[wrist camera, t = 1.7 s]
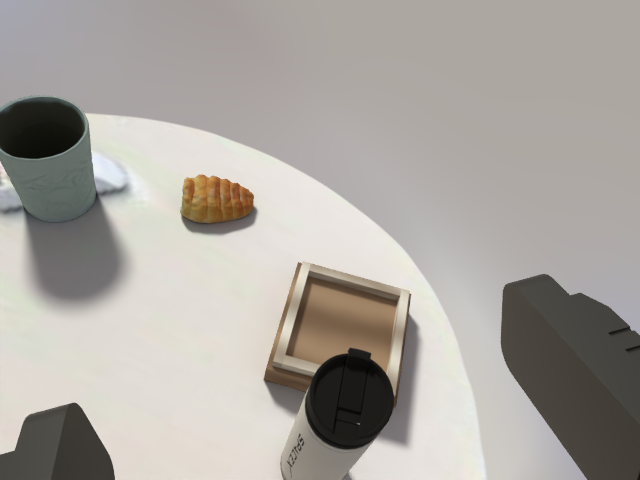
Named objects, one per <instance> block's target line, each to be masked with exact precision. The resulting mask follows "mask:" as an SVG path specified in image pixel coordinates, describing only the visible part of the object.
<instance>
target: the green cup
mask: <svg viewBox="0 0 640 480" xmlns="http://www.w3.org/2000/svg"><path fill="white" fill-rule="evenodd" d="M0 161H1V163H2V165H3V167H4V169H5V171H6V173H7V174H8V176H9V177H10V180H11V182H12V184H13V186H14V188H15V190H16V191H17V193H18V195H19V197H20V199H21V201H22V204H23V206H24V207H25V209H26V210H27V211H28V212H29V213H30V214H31V215H32V216H33V217H35V218H37V219H39V220H42V221H46V222H65V221H69V220H73V219H75V218H77V217H79V216H81V215H83V214H84V213H86V212H87V211H88V210H89V209H90V208H91V206H92V205H93V203H94V201H95V197H96V186H95V182H94V173H93V164H92V155H91V144H90V133H89V123H88V120H87V118H86V116H85V114H84V112H83V111H82V110H81V109H80V108H79V107H78V106H77V105H75V104H74V103H72V102H70V101H68V100H66V99H63V98H60V97H54V96H45V95H37V96H29V97H24V98H19V99H17V100H14V101H11V102H9V103H7V104H5V105H4V106H2V107H1V108H0Z"/></svg>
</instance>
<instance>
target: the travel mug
mask: <svg viewBox="0 0 640 480" xmlns="http://www.w3.org/2000/svg"><path fill="white" fill-rule="evenodd" d="M393 406H394V393H393V388H392V385H391V382H390V380H389V378H388V376H387V374H386V373H385V371H384V370H383V369H382V368H381V367H380V366H379V365H378V364H377V363H376V362H374V361H373V360H371V353H370V352H367V351H364V350H360V349H355V348H349V349H348V353H345V354H340V355H336V356H334V357H332V358H329V359H328V360H327V361H325V362H324V363H323V364H322V365H321V366H320V367H319V368H318V369H317V371H316V373H315V375H314V376H313V379H312V381H311V384H310V386H309V388H308V390H307V392H306V394H305V397H304V399H303V402H302V404H301V407H300V410H299V412H298V415H297V417H296V420H295V422H294V425H293V427H292V430H291V432H290V435H289V437H288V440H287V442H286V445H285V448H284V450H283V453H282V456H281V463H280V464H281V472H282V476H283V478H284V480H342V479H343V477H344V476H345V475H346V474H347V473H348V471H349V470H350V469H351V468H352V467H353V465H354V464H355V463H356V462H357V461H358V459H359V458H360V457H361V456H362V454H363V453H364V452H365V451H366V450H367V448H368V447H369V446H370V445H371V444H372V442H373V441H374V440H375V439H376V437H377V436H378V435H379V433H380V431H381V430H382V429H383V428H384V426H385V425H386V424H387V422H388V421H389V419H390V416H391V414H392V411H393Z"/></svg>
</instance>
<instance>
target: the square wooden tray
mask: <svg viewBox="0 0 640 480" xmlns="http://www.w3.org/2000/svg"><path fill="white" fill-rule="evenodd" d="M409 292H410V291H407V290H404V289H400V288H397V287H393V286H390V285H386V284H382V283H379V282H375V281H372V280H368V279H364V278H361V277H357V276H354V275H350V274H347V273H343V272H339V271H336V270H332V269H329V268H325V267H322V266H318V265H314V264H311V263H307V262H304V261H303V262H302V263H299V262H298V265H297V268H296V271H295V275H294V278H293V281H292V285H291V288H290V291H289V295H288V298H287V301H286V305H285V308H284V311H283V315H282V318H281V321H280V324H279V328H278V331H277V334H276V338H275V341H274V344H273V348H272V351H271V354H270V358H269V361H268V364H267V368H266V372H265V376H264V380H266V381H269V382H273V383H276V384H280V385H284V386H287V387H291V388H294V389H298V390H302V391H305V392H307V390H308V388H309V386H310V384H311V381H312V379H313V376H314V375H315V373H316V371H317V369H318V368H319V367H320V366H321V365H322V364H323V363H324V362H325V361H327V360H328V359H329V358H332V357H334V356H336V355H340V354H345V353H348V349H349V348H355V349H360V350H364V351H367V352H370V353H371V360H373V361H374V362H376V363H377V364H378V365H379V366H380V367H381V368H382V369H383V370H384V371H385V373H386V374H387V376H388V378H389V380H390V382H391V385H392V388H393V393H394V406H393V409H394V407H395V406H396V403H397V396H398V388H399V381H400V373H401V366H402V358H403V351H404V343H405V336H406V328H407V321H408V313H409V306H410V299H411V294H409Z"/></svg>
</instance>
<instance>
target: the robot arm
mask: <svg viewBox="0 0 640 480" xmlns="http://www.w3.org/2000/svg"><path fill="white" fill-rule="evenodd" d="M501 348H502V352H503V356H504V359H505V362H506V364H507V366H508V368H509V370H510V372H511V373H512V375H513V376H514V378H515V379H516V381H517V382H518V383H519V385H520V386H521V388H522V389H523V390H524V392H525V393H526V395H527V396H528V397H529V399H530V400H531V401H532V403H533V404H534V406H535V407H536V408H537V410H538V411H539V413H540V414H541V415H542V417H543V418H544V420H545V421H546V422H547V424H548V425H549V426H550V428H551V429H552V431H553V432H554V434H555V435H556V436H557V438H558V439H559V440H560V442H561V443H562V445H563V446H564V448H565V449H566V450H567V452H568V453H569V455H570V456H571V457H572V459H573V460H574V461H575V463H576V464H577V466H578V467H579V469H580V470H581V471H582V473H583V474H584V476H585V477H586V478H587V480H640V335H639V334H638V333H636V332H635V331H631V329H630V326H629V325H628V324H627V323H626V322H624V320H622V319H621V318H620V317H619V316H618V315H617V314H616V313H615V312H614V311H612V309H611V308H609V307H608V306H606V305H604V304H602V303H600V302H598V301H596V300H594V299H592V298H590V297H588V296H586V295H584V294H582V293H577V294H574V295H569V294H568V293H567V292H566V291H565V290H564V289H563V288H562V287H561V286H560V285H559V284H558V283H557V282H556V281H555V280H554V279H553V278H552V277H550V276H549V275H546V274H542V275H538V276H534V277H530V278H527V279H523V280H519V281H516V282H512V283H508V284H506V285H505V287H504V289H503V303H502V325H501ZM0 480H115V476H114V469H113V465H112V461H111V458H110V456H109V454H108V452H107V450H106V449H105V447H104V445H103V444H102V442H101V440H100V439H99V437H98V435H97V433H96V432H95V430H94V428H93V427H92V425H91V423H90V422H89V420H88V418H87V417H86V415H85V413H84V412H83V410H82V408H81V407H80V406H79V405H78V404H77V403H70V404H67V405H63V406H59V407H56V408H52V409H48V410H45V411H41V412H37V413H33V414H30V415H28V416H27V417H26V419H25V420H24V423H23V425H22V429H21V432H20V435H19V438H18V442H17V445H16V448H15V451H12V452H9V453H5V454H1V455H0Z"/></svg>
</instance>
